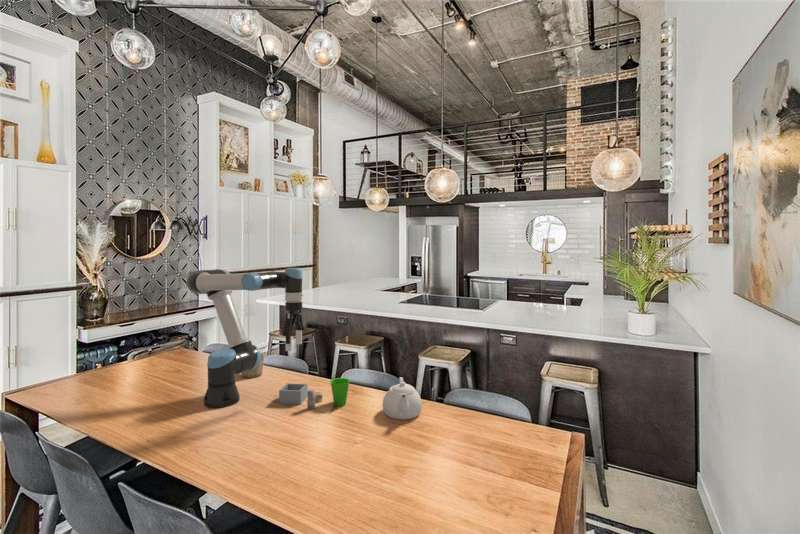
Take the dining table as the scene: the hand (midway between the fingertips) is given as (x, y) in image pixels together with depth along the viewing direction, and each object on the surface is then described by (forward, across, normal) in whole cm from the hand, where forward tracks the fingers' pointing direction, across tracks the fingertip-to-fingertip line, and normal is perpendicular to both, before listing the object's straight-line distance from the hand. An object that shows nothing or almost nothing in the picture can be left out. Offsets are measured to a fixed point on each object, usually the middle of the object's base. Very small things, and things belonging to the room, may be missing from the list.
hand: (294, 347), depth 183 cm
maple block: (+26, +1, -11) cm, 28 cm away
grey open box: (+26, 0, 0) cm, 26 cm away
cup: (+26, -1, -22) cm, 34 cm away
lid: (+26, -9, -11) cm, 30 cm away
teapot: (+26, -7, -51) cm, 57 cm away
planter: (+26, +37, +37) cm, 59 cm away
